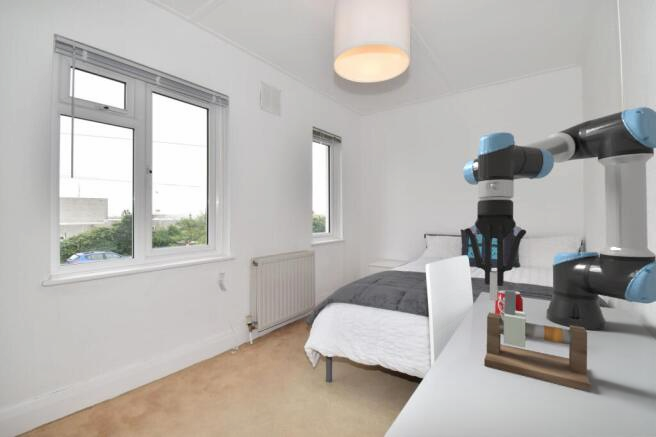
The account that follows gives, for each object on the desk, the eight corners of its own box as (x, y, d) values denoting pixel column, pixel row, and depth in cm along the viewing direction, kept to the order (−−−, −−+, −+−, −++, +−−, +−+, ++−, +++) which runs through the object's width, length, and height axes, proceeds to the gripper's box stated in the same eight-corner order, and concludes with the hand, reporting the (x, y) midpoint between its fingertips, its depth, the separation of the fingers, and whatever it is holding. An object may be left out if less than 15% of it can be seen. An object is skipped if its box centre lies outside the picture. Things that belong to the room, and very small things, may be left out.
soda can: (526, 338, 86) (527, 295, 86) (499, 335, 87) (499, 293, 88) (516, 329, 93) (517, 289, 93) (491, 327, 94) (491, 288, 94)
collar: (505, 335, 74) (506, 288, 74) (525, 338, 72) (526, 290, 72) (503, 343, 69) (504, 293, 69) (524, 347, 67) (525, 295, 67)
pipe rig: (490, 348, 78) (491, 308, 79) (581, 367, 68) (581, 322, 69) (484, 365, 68) (484, 320, 69) (589, 391, 58) (590, 339, 59)
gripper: (462, 199, 74) (461, 297, 74) (527, 197, 67) (526, 307, 66) (468, 201, 80) (467, 292, 80) (527, 200, 73) (526, 300, 73)
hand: (493, 299), depth 73 cm, fingers closed
